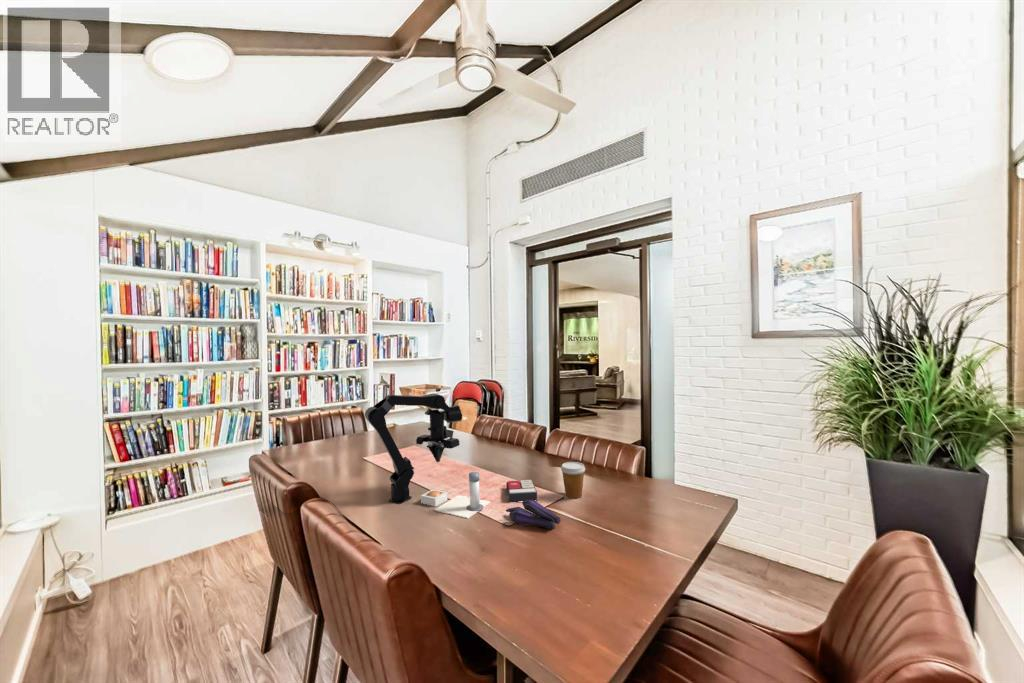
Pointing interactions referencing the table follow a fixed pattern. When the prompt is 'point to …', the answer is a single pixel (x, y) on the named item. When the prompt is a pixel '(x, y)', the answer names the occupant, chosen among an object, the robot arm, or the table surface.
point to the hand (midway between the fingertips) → (438, 461)
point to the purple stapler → (533, 515)
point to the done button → (434, 493)
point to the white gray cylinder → (474, 490)
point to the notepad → (460, 507)
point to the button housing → (434, 498)
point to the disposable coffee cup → (573, 479)
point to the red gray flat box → (521, 490)
